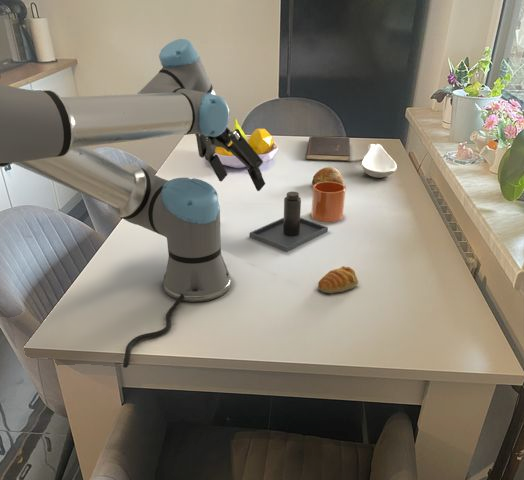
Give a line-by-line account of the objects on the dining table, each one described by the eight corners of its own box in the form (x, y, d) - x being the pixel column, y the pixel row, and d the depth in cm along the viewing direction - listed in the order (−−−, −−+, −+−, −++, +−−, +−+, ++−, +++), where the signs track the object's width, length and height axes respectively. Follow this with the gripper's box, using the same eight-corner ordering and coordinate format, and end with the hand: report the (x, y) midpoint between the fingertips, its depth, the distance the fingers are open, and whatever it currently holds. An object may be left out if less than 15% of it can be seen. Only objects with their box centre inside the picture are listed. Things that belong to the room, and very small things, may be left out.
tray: (286, 253, 139) (286, 247, 138) (249, 238, 146) (249, 232, 145) (327, 233, 149) (327, 227, 148) (290, 219, 156) (290, 214, 155)
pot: (329, 226, 152) (332, 195, 147) (304, 217, 157) (306, 187, 152) (348, 217, 158) (351, 186, 152) (323, 209, 162) (326, 179, 157)
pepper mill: (292, 237, 145) (293, 198, 138) (279, 233, 147) (280, 193, 141) (302, 232, 148) (304, 193, 141) (290, 228, 150) (291, 189, 143)
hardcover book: (349, 143, 216) (349, 137, 215) (349, 161, 198) (349, 155, 197) (309, 142, 218) (309, 136, 217) (305, 159, 200) (305, 153, 198)
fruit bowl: (273, 175, 186) (273, 141, 179) (196, 171, 189) (193, 137, 182) (283, 151, 208) (284, 120, 201) (214, 148, 211) (212, 117, 204)
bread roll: (342, 201, 177) (353, 178, 173) (317, 192, 171) (329, 167, 168) (328, 191, 184) (339, 168, 181) (304, 181, 179) (315, 158, 175)
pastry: (330, 299, 121) (332, 284, 119) (310, 287, 125) (311, 272, 123) (360, 286, 126) (361, 271, 123) (339, 275, 130) (340, 260, 127)
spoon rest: (398, 181, 182) (401, 159, 177) (363, 181, 182) (365, 159, 177) (385, 159, 201) (388, 139, 196) (353, 159, 201) (355, 139, 196)
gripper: (255, 105, 117) (286, 180, 133) (180, 95, 131) (217, 164, 148) (234, 128, 115) (269, 202, 132) (161, 116, 129) (200, 183, 146)
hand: (241, 182), depth 140 cm, fingers open, 13 cm apart
